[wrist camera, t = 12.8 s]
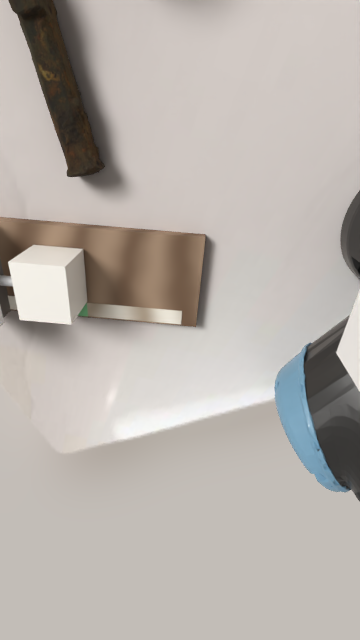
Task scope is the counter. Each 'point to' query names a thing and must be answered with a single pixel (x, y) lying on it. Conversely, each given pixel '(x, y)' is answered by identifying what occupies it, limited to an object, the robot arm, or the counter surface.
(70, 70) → the hand tool
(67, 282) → the gauge slider
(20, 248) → the gauge board
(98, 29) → the counter surface
